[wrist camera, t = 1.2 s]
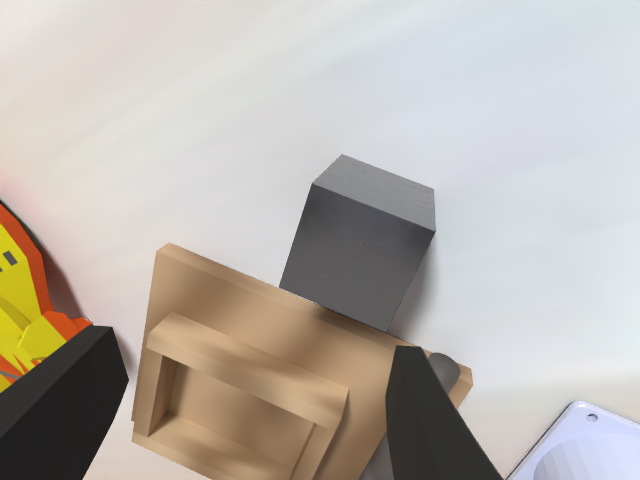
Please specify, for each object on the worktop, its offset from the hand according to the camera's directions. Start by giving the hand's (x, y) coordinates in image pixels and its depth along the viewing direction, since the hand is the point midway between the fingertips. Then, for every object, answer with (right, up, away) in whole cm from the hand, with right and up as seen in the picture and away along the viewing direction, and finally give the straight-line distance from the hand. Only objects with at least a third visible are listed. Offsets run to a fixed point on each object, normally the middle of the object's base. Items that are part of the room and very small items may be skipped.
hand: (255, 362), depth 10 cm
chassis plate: (-1, -6, +15) cm, 16 cm away
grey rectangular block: (+4, +4, +9) cm, 11 cm away
